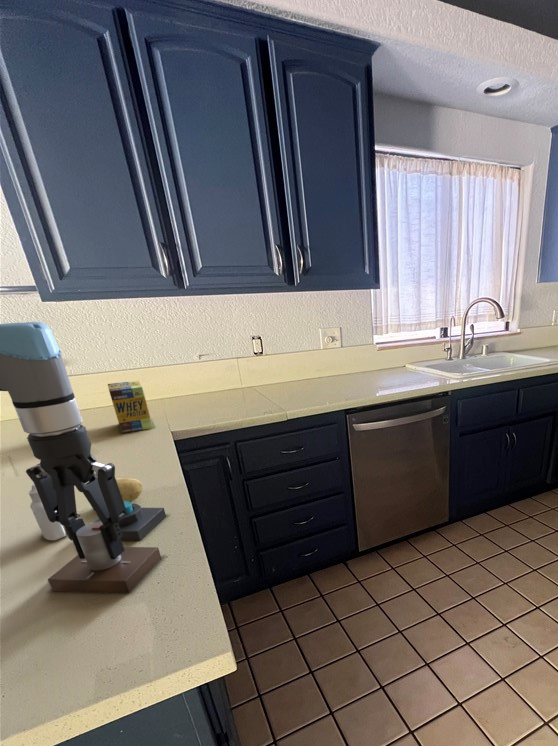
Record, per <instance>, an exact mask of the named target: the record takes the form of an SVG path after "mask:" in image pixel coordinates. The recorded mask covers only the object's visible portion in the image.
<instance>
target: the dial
mask: <svg viewBox="0 0 558 746" xmlns="http://www.w3.org/2000/svg"><path fill="white" fill-rule="evenodd" d="M93 522H94V521H93ZM93 522H91V523H88V524H85V526H83V527H81V528H80V529H79V530H77V532H76V536H77V538H78V541H79V543H80V546H81V548H82V551H83V553H84V556H85V558H86V561H87V563H88V566H89V568H90V569H91V570H95V571H98V570H104V569H107V568H110V567H112V566H114V565H116V564H117V563H118V562H119V561H120V560H121V555H119V556H118V557H117V558H116V559H111V558H110V555H109V552H108V550H107V547H106V544H105V542H104V539H103V536H102V533H101V531H100V528H99V527H100V526H101V525H102V524H103V523H102V522H94V523H93Z"/></svg>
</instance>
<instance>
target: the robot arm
mask: <svg viewBox="0 0 558 746" xmlns="http://www.w3.org/2000/svg"><path fill="white" fill-rule="evenodd" d="M57 343H58V342H57V340H56V338H55V336H54V334H53V332H52V329H51V328H50V327H49V325H47V324H46V323H44V322H41V321H28V322H27V321H26V322H7V323H0V392H7V393H8V394H9V397H10V399H11V403H12V405H13V407H14V410H15V413H16V415H17V417H18V420H19V422H20V425H21V427H22V430H23V432H24V433H26V434H28V435H27V437H26V439H27V442H28V445H29V447H30V449H31V451H32V454H33V456H34V457H35V458H36V460H39V463H38V464H35V465H33V466H30V467H29V468H27V469H26V470H25V473H26V474H27V476H28V477H29V478H30V480H31V481H32V482H33V484H35V487H36V489H37V492H38V494H39V497H40V499H41V502H42V504H43V507H44V509H45V512H46V514H47V517H48V519H49V521H50V522H53V523H54V522H60V524H61V525H63V528H64V530H65V533H66V534H67V537H68V539H69V540H70V541H72V543H73V545H74V547H75V550H76V553H77V555H79V558H80V559H84V558H85V556H84V553H83V551H82V548H81V546H80V543H79V541H78V538H77V536H76V532H77V530H79V529H80V528H81V527H83V526H85V525H86V523H85V521H84V518H80V516H81V514H79V513H78V511H77V510H78V509H77V501H76V493H75V491H76V490H75V488H76V489H77V491H78V492H79V493H82V494H83V495H84V497H85V499H86V501H88V503H89V504H90V506H91V508H92V509H93V511H94V513H95V514H96V516H97V517H98V518H99V519H100V520H101V522H102V523H103V524H102V525H101V526H100V527H99V528H100V531H101V533H102V536H103V539H104V542H105V544H106V547H107V550H108V552H109V555H110V558H111V559H116V558H117V557H118V556H119V555H120V554H121V553H122V552H124V551H125V550H124V547H125V546H124V544H123V540H121V537H122V532H121V529H120V526H119V523H118V522H119V521H120V520H122V519H123V518H124V517H125V516H126V515H127V510H126V508H125V505H124V502H123V499H122V496H121V493H120V490H119V487H118V484H117V481H116V479H115V478H116V466H115V464H113V462H109V463H107V464H104V463H100V462H97V459H96V458H95V457H94V456H93V455H92V453H91V448H92V442H91V439H90V436H89V434H88V431H87V428H86V426H84V425H83V424H82V423H83V421H84V420H83V417H82V414H81V411H80V408H79V405H78V402H77V399H76V397H75V392H74V390H73V387H72V385H71V381H70V379H69V376H68V373H67V369H66V366H65V363H64V361H63V357H62V351H61V348H59V346H58V344H57ZM55 511H57V512H56V513H55ZM108 516H109V517H108Z"/></svg>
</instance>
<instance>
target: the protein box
mask: <svg viewBox="0 0 558 746" xmlns="http://www.w3.org/2000/svg"><path fill="white" fill-rule="evenodd" d="M107 387H108V392H109V396H110V399H111V402H112V406H113V409H114V413H115V416H116V419H117V422H118V425H119V429H120V432H121V434H127V433H132V432H138V431H143V430H150V429H154V425H153V422H152V418H151V415H150V414H151V413H150V411H149V410H150V409H149V407H148V403H147V399H146V396H145V395H146V394H145V392H144V389H143V386H142V384H141V383H140V381H139V380H132V381H130V380H129V381H121V382H112V383H107Z"/></svg>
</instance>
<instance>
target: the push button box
mask: <svg viewBox="0 0 558 746" xmlns="http://www.w3.org/2000/svg"><path fill="white" fill-rule="evenodd" d="M131 505H132V508H133V511H132V512H131V513H129V514H127V515H126V516H125V517H124V518H123V519H122V520H120V521H119V522H118V523H119V526H120V529H121V532H122V537H121V541H141V540H142V539H144V538H145V537H146V536H147V535H148V534H149V533H150V532H151V531H152V530H153V529H154V528H156V527H157V525H159V523H161V522H162V521H163V520H164V519H165V518H166V517H167V515H166V511H165V510H166V509H165V508H164V507H142V506H141V505H140V504H138V503H131ZM108 517H109V516H108ZM94 522H101V520H100V519H99V517H98V518H96V520H94V521H92V523H94Z"/></svg>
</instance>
